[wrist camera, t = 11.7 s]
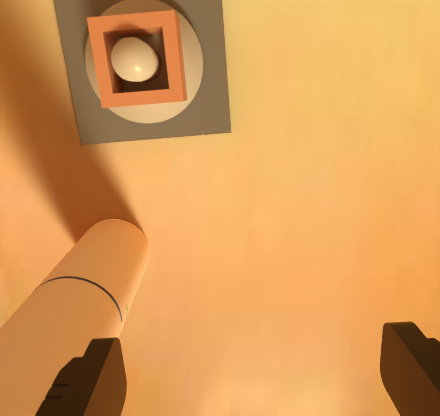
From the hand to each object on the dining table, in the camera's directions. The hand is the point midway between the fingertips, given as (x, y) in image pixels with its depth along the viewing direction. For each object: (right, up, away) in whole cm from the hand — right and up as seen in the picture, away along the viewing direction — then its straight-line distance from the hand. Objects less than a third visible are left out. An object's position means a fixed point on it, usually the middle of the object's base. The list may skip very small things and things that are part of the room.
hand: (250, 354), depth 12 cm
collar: (-7, +17, +21) cm, 28 cm away
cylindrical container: (-12, 0, +29) cm, 31 cm away
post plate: (-7, +18, +23) cm, 30 cm away
